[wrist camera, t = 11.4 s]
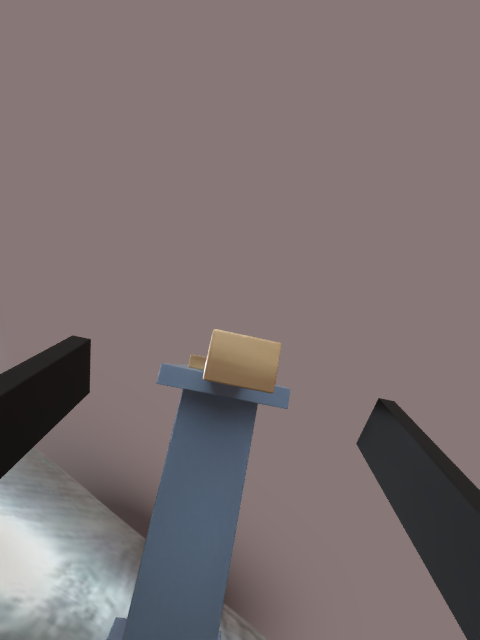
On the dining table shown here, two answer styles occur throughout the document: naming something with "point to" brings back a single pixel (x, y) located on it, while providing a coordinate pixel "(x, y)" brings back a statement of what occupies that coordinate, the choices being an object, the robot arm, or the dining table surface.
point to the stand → (195, 510)
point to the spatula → (240, 361)
